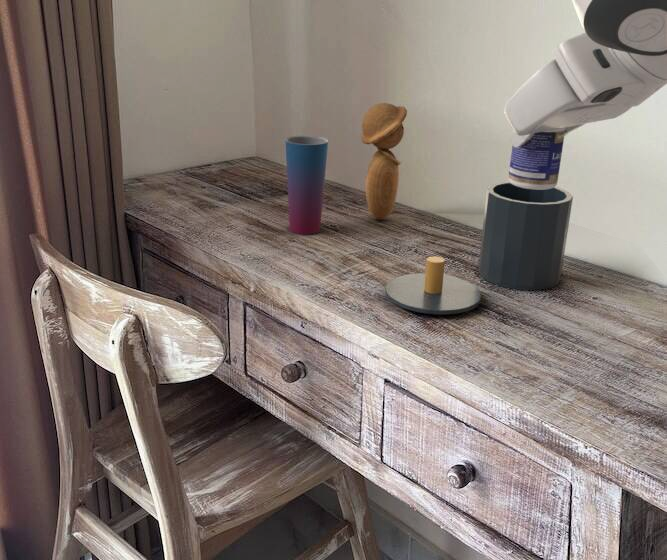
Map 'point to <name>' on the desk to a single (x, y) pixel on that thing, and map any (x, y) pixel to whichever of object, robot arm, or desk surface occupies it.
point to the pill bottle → (537, 161)
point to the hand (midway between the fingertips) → (533, 138)
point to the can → (524, 236)
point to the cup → (305, 182)
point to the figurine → (383, 156)
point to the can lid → (433, 291)
